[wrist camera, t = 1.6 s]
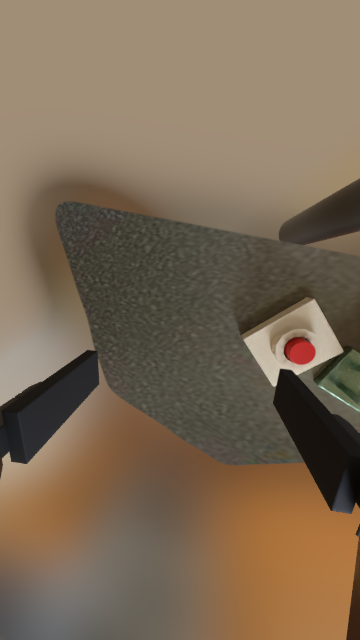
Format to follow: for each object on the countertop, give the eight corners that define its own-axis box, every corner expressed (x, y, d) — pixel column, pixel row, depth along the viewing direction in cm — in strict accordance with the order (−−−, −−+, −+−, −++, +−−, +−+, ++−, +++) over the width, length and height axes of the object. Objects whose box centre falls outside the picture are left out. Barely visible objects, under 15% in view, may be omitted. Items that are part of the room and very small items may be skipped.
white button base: (307, 296, 32) (321, 300, 28) (335, 346, 33) (352, 356, 29) (240, 335, 34) (245, 343, 30) (269, 379, 36) (277, 393, 32)
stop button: (302, 333, 30) (308, 337, 28) (313, 352, 30) (320, 357, 28) (280, 345, 30) (284, 349, 29) (291, 363, 31) (296, 369, 29)
